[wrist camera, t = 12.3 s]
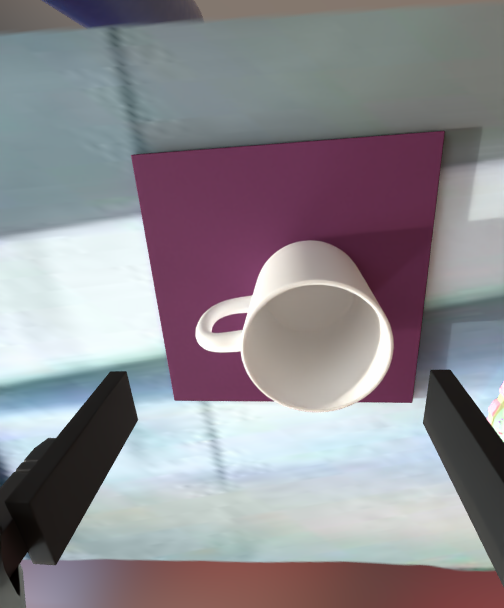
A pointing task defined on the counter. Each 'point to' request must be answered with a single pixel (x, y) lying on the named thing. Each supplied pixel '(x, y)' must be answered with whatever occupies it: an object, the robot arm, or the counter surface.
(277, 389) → the cup
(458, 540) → the counter surface
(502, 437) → the food platter
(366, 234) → the mat
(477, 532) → the robot arm
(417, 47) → the counter surface
